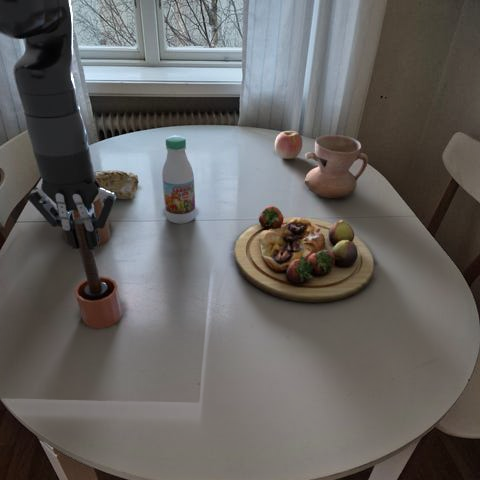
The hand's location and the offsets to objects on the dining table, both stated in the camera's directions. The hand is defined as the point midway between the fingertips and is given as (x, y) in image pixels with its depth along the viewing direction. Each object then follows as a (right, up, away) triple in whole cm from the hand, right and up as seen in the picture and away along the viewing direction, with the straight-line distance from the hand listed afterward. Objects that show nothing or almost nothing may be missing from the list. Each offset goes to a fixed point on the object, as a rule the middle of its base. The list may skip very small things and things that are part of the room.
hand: (85, 246), depth 72 cm
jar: (-10, +8, +31) cm, 34 cm away
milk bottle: (+11, +14, +40) cm, 44 cm away
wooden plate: (+41, +1, +27) cm, 49 cm away
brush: (-1, -10, +10) cm, 14 cm away
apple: (+42, +42, +70) cm, 92 cm away
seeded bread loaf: (-12, +21, +46) cm, 52 cm away
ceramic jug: (+53, +25, +53) cm, 79 cm away
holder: (0, -12, +11) cm, 16 cm away
